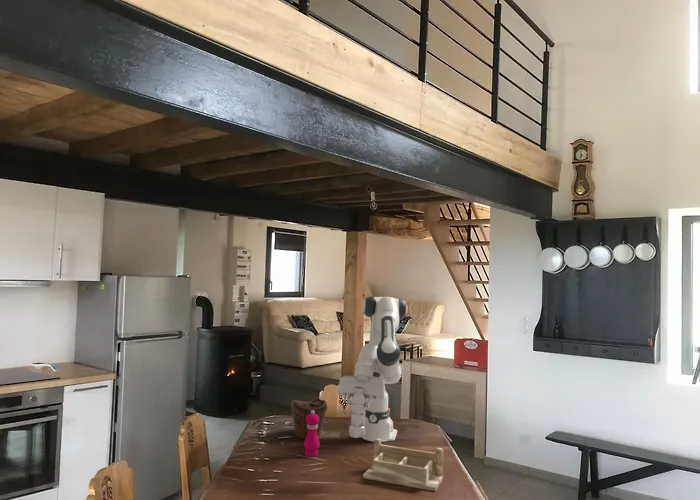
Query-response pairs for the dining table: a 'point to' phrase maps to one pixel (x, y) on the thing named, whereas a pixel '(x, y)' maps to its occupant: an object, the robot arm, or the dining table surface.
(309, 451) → the magenta pepper grinder
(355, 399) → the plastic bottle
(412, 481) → the wooden compartment rack
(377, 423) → the robot arm
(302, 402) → the brown flower pot
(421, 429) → the dining table surface
